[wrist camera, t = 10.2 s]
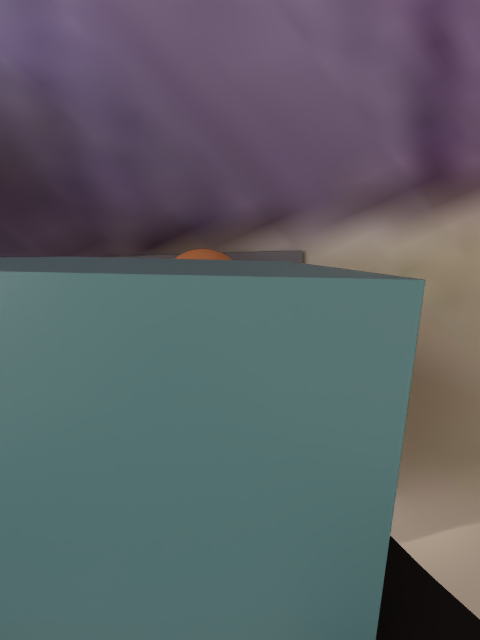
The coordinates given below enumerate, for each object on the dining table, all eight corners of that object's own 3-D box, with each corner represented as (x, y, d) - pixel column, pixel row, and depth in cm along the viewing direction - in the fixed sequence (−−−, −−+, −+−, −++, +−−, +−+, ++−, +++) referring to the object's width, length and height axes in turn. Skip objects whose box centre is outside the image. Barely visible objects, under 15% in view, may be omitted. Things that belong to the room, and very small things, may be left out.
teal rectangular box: (95, 569, 10) (-115, 1040, 4) (68, 256, 8) (-421, 263, 2) (270, 570, 10) (321, 1032, 4) (285, 261, 8) (424, 279, 2)
